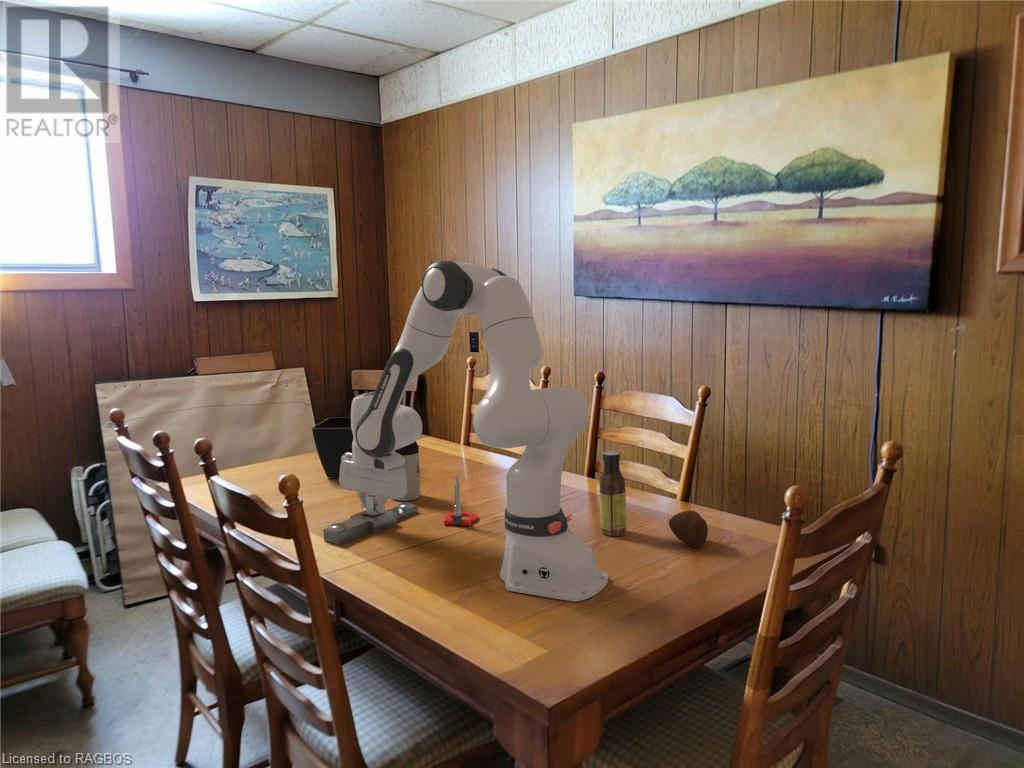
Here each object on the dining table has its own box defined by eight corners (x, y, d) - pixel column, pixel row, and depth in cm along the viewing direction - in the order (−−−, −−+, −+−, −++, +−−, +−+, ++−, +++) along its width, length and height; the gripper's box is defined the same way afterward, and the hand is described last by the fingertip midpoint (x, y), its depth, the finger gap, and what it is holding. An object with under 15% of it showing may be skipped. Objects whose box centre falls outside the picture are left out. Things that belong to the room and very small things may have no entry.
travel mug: (387, 500, 202) (384, 437, 199) (398, 492, 209) (396, 431, 207) (414, 502, 200) (412, 439, 197) (424, 494, 208) (422, 432, 205)
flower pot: (331, 465, 240) (328, 416, 238) (387, 465, 239) (385, 415, 237) (313, 482, 222) (310, 428, 219) (374, 481, 221) (372, 427, 218)
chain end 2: (422, 513, 191) (422, 505, 191) (374, 533, 176) (373, 525, 176) (400, 508, 195) (399, 500, 195) (350, 527, 181) (350, 519, 180)
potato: (695, 553, 161) (696, 519, 160) (662, 541, 169) (662, 508, 168) (716, 546, 165) (717, 513, 164) (683, 534, 173) (684, 502, 172)
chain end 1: (396, 524, 183) (396, 510, 182) (343, 546, 168) (342, 531, 167) (373, 518, 187) (373, 504, 187) (319, 540, 172) (318, 525, 172)
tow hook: (449, 515, 190) (440, 525, 181) (448, 467, 189) (439, 475, 180) (480, 516, 189) (473, 527, 180) (480, 468, 188) (472, 476, 179)
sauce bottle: (627, 529, 177) (628, 450, 174) (624, 538, 171) (625, 456, 168) (601, 527, 178) (601, 448, 175) (597, 536, 172) (597, 455, 169)
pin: (381, 525, 182) (380, 494, 181) (374, 528, 180) (373, 497, 179) (374, 523, 183) (372, 493, 182) (366, 526, 181) (365, 495, 180)
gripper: (332, 453, 182) (334, 506, 184) (392, 464, 171) (394, 520, 173) (350, 448, 187) (353, 500, 189) (410, 458, 176) (412, 513, 178)
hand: (373, 510), depth 181 cm, fingers open, 3 cm apart
